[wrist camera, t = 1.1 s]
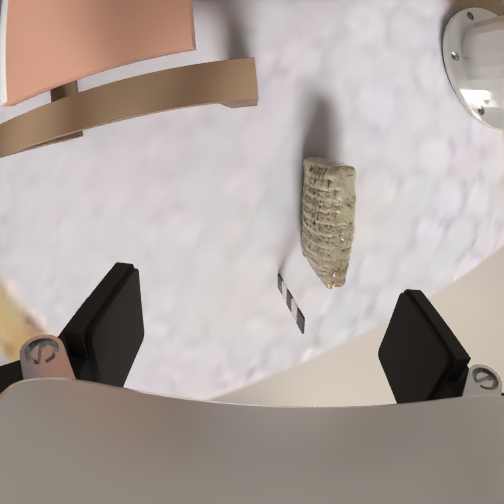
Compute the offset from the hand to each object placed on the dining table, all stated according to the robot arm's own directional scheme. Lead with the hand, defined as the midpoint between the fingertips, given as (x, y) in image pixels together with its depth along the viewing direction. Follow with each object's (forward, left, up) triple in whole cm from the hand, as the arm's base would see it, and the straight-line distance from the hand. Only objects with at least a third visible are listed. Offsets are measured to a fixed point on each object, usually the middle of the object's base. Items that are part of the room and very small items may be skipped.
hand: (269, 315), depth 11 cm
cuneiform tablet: (-4, +3, -17) cm, 18 cm away
